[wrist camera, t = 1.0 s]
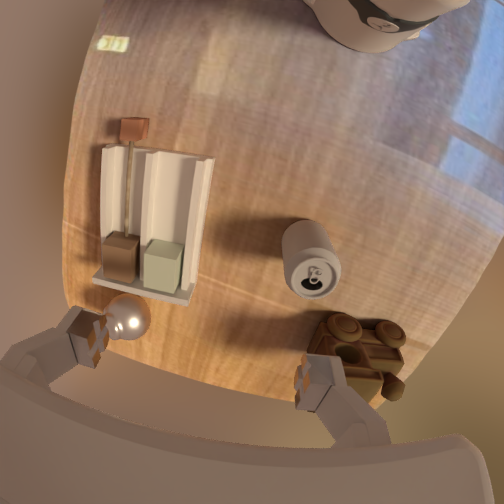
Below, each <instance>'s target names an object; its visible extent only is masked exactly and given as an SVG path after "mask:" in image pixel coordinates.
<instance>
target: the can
mask: <svg viewBox="0 0 504 504" xmlns="http://www.w3.org/2000/svg"><path fill="white" fill-rule="evenodd" d="M281 245H282V255H283V265H284V275H285V280H286V283H287V285H288V286H289V288H290V289H291V290H292V291H294V292H295V293H296V294H297V295H299V296H300V297H302V298H305V299H314V300H315V299H319V298H323V297H325V296H327V295H329V294H330V293H331V292H332V291H333V290H334V289H335V287H336V286H337V284H338V281H339V279H340V275H341V264H340V261H339V259H338V257H337V254H336V252H335V250H334V248H333V245H332V243H331V241H330V238H329V236H328V234H327V232H326V230H325V229H324V227H323V226H321V225H320V224H319V223H317V222H315V221H312V220H301V221H297V222H295V223H293V224H291V225H290V226H289V227H288V228H287V229H286V230H285V232H284V234H283V236H282V243H281Z"/></svg>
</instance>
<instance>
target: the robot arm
mask: <svg viewBox="0 0 504 504" xmlns="http://www.w3.org/2000/svg"><path fill="white" fill-rule="evenodd" d="M302 1H304V2H305V3H306V4H307V5H308V6H309V7H311V8H312V9H313V11H314V13H315V14H316V16H317V18H318V20H319V22H320V24H321V25H322V27H323V28H324V29H325V30H326V31H327V33H328V34H329V35H331V36H332V37H333V38H334V39H335V40H337V41H338V42H340V43H341V44H343V45H345V46H347V47H349V48H351V49H354V50H357V51H361V52H366V53H380V52H384V51H387V50H390V49H392V48H393V47H395V46H396V45H397V44H399V43H400V42H402V41H407V40H413V39H415V38H417V37H418V36H419V34H420V30H422V29H423V28H425V27H426V26H428V25H429V24H430V23H432V22H433V21H434V20H436V19H437V18H438V17H439V15H441V14H444V13H447V12H449V11H452V10H455V9H457V8H460V7H463V6H465V5H466V4H468V3H469V2H470V0H302ZM106 323H107V318H106V315H104V314H101V313H98V312H95V311H92V310H89V309H86V308H82V307H79V306H76V305H75V306H72V307H71V309H70V310H69V311H68V313H67V314H66V315H65V317H64V318H63V319H62V321H61V322H60V323H59V324H58V326H57V327H56V328H51V329H48V330H46V331H44V332H41V333H39V334H37V335H34V336H32V337H30V338H28V339H25V340H23V341H21V342H18V343H16V344H14V345H12V346H11V347H10V349H9V350H8V351H7V353H6V354H5V355H4V357H3V358H2V360H1V361H0V504H495V503H494V497H493V491H492V487H491V482H490V478H489V474H488V470H487V467H486V463H485V460H484V457H483V455H482V453H481V451H480V450H479V449H478V448H477V447H476V446H475V445H473V444H472V443H471V442H470V441H469V440H467V439H466V438H465V437H464V436H462V435H461V434H452V435H447V436H442V437H437V438H432V439H426V440H420V441H414V442H407V443H400V444H391V441H390V436H389V433H388V429H387V425H386V421H385V420H384V419H383V418H382V417H381V416H380V415H379V414H378V413H377V412H376V411H375V410H374V409H373V408H372V407H371V406H370V405H369V404H368V403H367V402H366V401H365V400H364V399H363V398H362V397H361V396H360V395H359V394H358V393H357V392H356V391H355V390H354V389H353V388H352V387H351V386H347V382H346V378H345V374H344V370H343V366H342V361H341V358H340V357H339V356H327V355H317V354H306V353H304V354H303V356H302V358H301V365H299V366H298V367H297V369H296V372H295V376H294V388H295V390H296V391H297V393H296V395H295V407H296V409H298V410H309V411H315V413H316V414H317V415H318V417H319V418H320V420H321V421H322V423H323V424H324V425H325V427H326V428H327V430H328V431H329V432H330V434H331V435H332V437H333V438H334V439H335V440H336V442H335V444H334V445H333V446H332V447H331V448H323V449H322V448H321V449H320V448H315V449H314V448H284V447H270V446H258V445H249V444H239V443H232V442H225V441H218V440H212V439H206V438H201V437H195V436H190V435H185V434H180V433H175V432H171V431H167V430H163V429H159V428H155V427H151V426H147V425H144V424H140V423H137V422H133V421H130V420H126V419H123V418H120V417H117V416H114V415H111V414H108V413H105V412H102V411H99V410H96V409H94V408H91V407H88V406H85V405H83V404H80V403H78V402H75V401H73V400H71V399H68V398H66V397H63V396H61V395H59V394H57V393H54V392H52V391H51V389H50V387H49V385H48V384H49V383H51V382H52V381H54V380H55V379H57V378H58V377H60V376H61V375H63V374H64V373H66V372H67V371H69V370H70V369H72V368H73V367H75V366H76V365H78V364H81V365H84V366H87V367H90V368H94V369H95V368H96V366H97V364H98V362H99V360H100V358H101V357H100V353H101V352H103V351H104V350H105V349H106V347H107V345H108V341H109V330H108V328H107V327H106V326H105V325H106Z"/></svg>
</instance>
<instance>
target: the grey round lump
mask: <svg viewBox="0 0 504 504" xmlns="http://www.w3.org/2000/svg"><path fill="white" fill-rule="evenodd" d="M103 314H104V315H106V318H107V323H106V325H105V326H106V327H107V328H108V330H109V338H111V339H112V340H119V339H124V340H135V339H138V338H140V337H141V336H143V335H144V334H145V333H146V332H147V330H148V329H149V326H150V323H151V312H150V309H149V307H148V305H147V303H146V302H145V301H144V300H143V299H142V298H141V297H139V296H137V295H135V294H132V293H123V294H120V295H117V296H116V297H114V298H113V299H112V300H111V301H110V302H109V304H108V305H107V306H105V308H104V310H103Z"/></svg>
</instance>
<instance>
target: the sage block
mask: <svg viewBox="0 0 504 504" xmlns="http://www.w3.org/2000/svg"><path fill="white" fill-rule="evenodd" d="M183 255H184V245H182V244H178V243H173V242H168V241H163V240H158V239H154V241H153V242H152V243H151V245H150V246H149V247H148V249H147V250H146V251H145V253H144V287H147V288H151V289H155V290H159V291H164V292H168V293H173V294H174V292H175V290H176V288H177V285H178V283H179V281H180V279H181V276H182V265H183Z"/></svg>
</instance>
